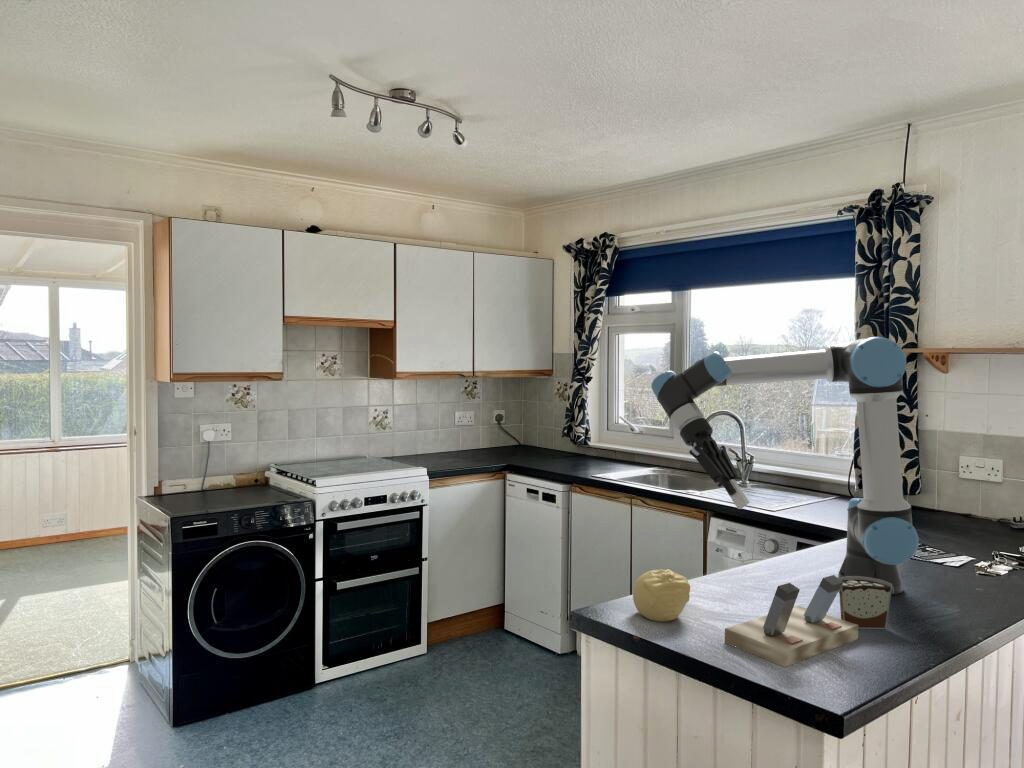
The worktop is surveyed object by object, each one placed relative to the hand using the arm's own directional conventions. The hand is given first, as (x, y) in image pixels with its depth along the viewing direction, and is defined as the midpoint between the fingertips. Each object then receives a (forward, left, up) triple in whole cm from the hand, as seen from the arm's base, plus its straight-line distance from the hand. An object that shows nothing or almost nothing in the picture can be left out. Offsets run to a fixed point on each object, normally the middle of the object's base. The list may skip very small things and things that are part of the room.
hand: (743, 505), depth 172 cm
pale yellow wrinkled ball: (+21, -6, -24) cm, 33 cm away
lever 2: (+1, +19, -21) cm, 28 cm away
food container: (-14, +21, -24) cm, 35 cm away
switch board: (+8, +19, -24) cm, 32 cm away
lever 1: (+15, +19, -21) cm, 32 cm away
